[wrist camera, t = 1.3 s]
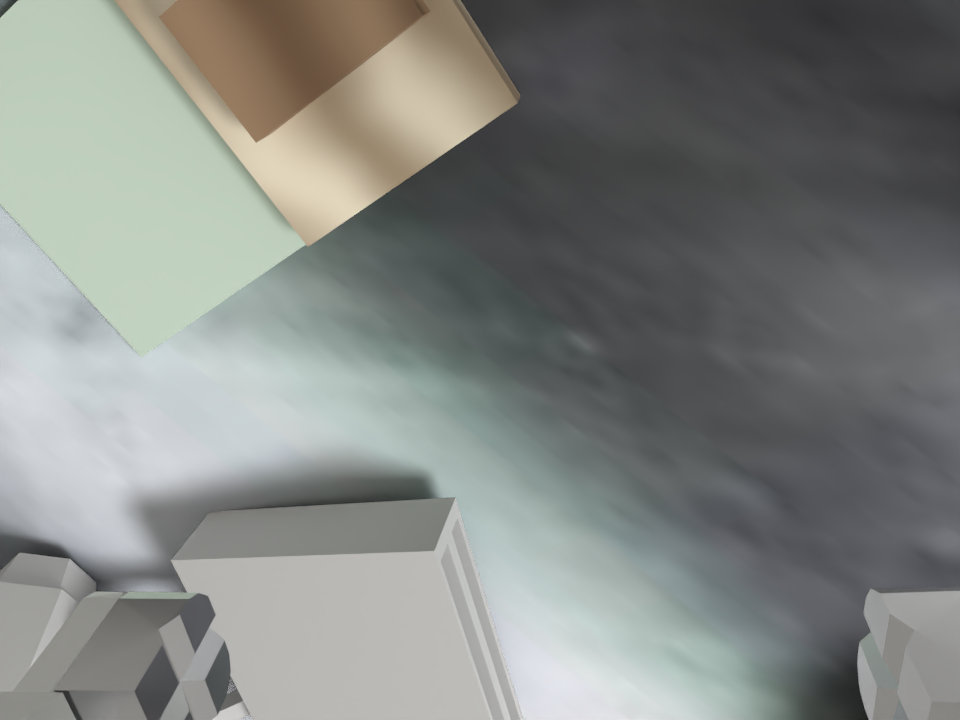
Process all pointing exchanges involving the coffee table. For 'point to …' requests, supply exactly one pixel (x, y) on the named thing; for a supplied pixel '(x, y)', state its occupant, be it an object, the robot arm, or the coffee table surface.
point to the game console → (313, 612)
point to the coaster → (283, 48)
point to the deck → (356, 115)
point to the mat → (125, 172)
